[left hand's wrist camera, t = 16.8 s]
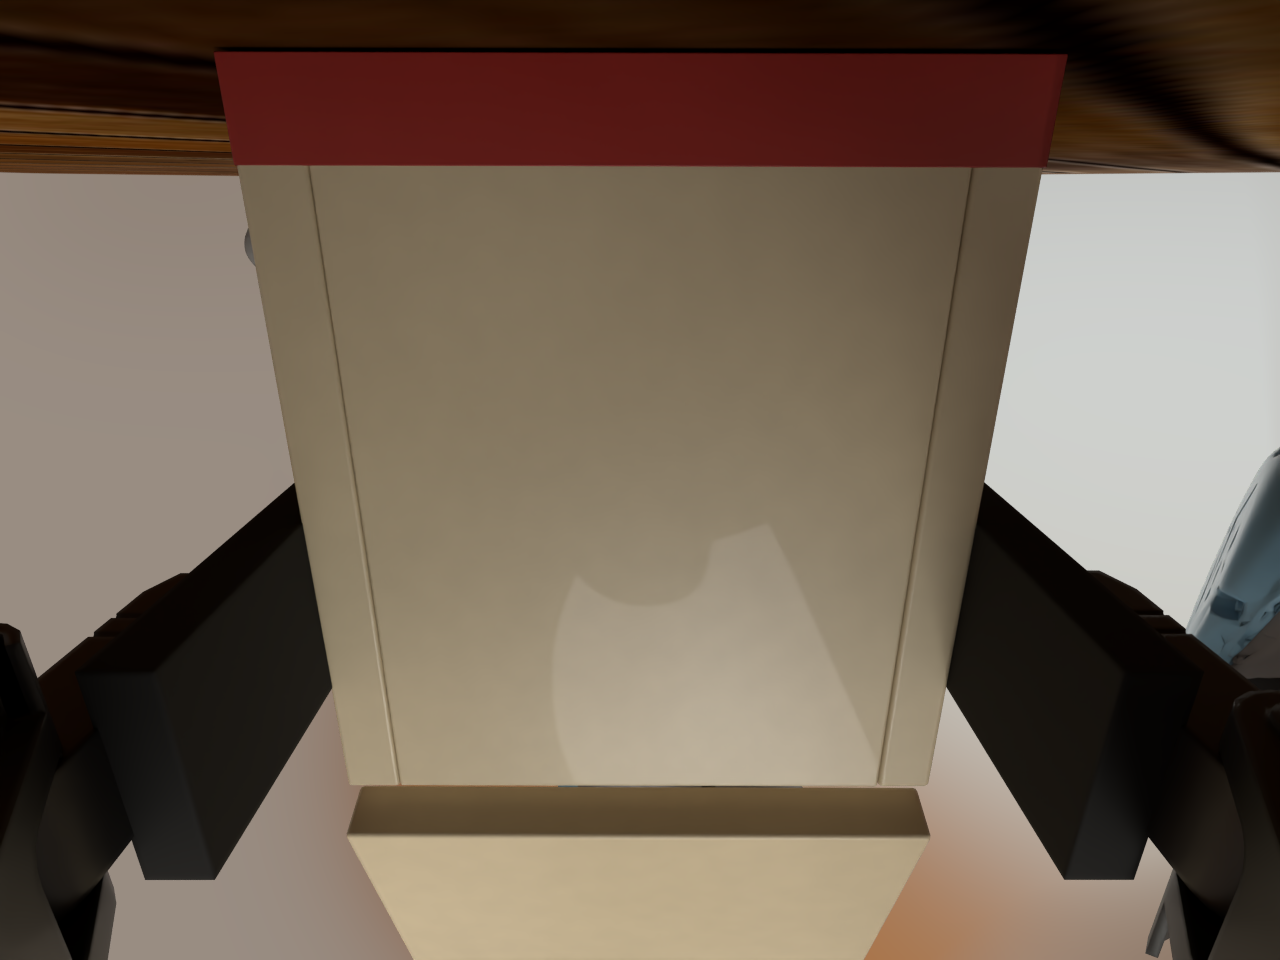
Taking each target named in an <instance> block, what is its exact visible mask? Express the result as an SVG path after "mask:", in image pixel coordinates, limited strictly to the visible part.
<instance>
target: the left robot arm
mask: <svg viewBox="0 0 1280 960" xmlns="http://www.w3.org/2000/svg"><path fill="white" fill-rule="evenodd" d="M116 615H117V616H116V618H111V619H109V620H108V621H107V622H106V623H105V624H103V625H102V626H101V627H100V628H98V629H97V630H96V631H95V632H94V636H93V637H87V638H86V639H85V640H84V641H82V642H81V643H80V644H79V645H78V646H76V647H75V648H74V649H73V650H71V651H70V652H69V653H68V654H67V655H65V656H64V657H63V658H62V659H60V660H59V661H58V662H57V663H56V664H54V665H53V666H52V667H51V668H49V669H48V670H47V671H46V672H45V673H43V674H42V675H41V676H40V677H38V678H37V676H36V673H35V670H34V668H33V665H32V662H31V659H30V657H29V654H28V651H27V648H26V646H25V643H24V640H23V637H22V635H21V632H20V630H18V629H16V628H14V627H12V626H10V625H9V624H3V623H0V960H108V953H109V947H110V940H111V934H112V927H113V921H114V914H115V908H116V899H115V893H114V887H113V884H112V882H111V879H110V876H109V873H108V869H109V868H110V867H111V866H112V864H113V863H114V862H115V861H116V859H117V858H118V857H119V855H120V854H121V853H122V852H123V850H124V849H125V848H126V846H127V845H128V844H129V842H130V841H131V840H132V842H133V845H134V848H135V851H136V854H137V857H138V860H139V863H140V866H141V869H142V872H143V875H144V878H145V880H215V878H216V877H217V875H218V874H219V872H220V870H221V869H222V867H223V865H224V864H225V862H226V860H227V859H228V857H229V856H230V854H231V852H232V851H233V849H234V847H235V846H236V844H237V843H238V841H239V839H240V838H241V836H242V834H243V833H244V831H245V829H246V828H247V826H248V825H249V823H250V821H251V820H252V818H253V816H254V815H255V813H256V811H257V810H258V808H259V807H260V805H261V803H262V802H263V800H264V798H265V797H266V795H267V794H268V792H269V790H270V789H271V787H272V785H273V784H274V782H275V780H276V779H277V777H278V776H279V774H280V772H281V771H282V769H283V767H284V766H285V764H286V762H287V761H288V759H289V758H290V756H291V754H292V753H293V751H294V749H295V748H296V746H297V744H298V743H299V741H300V740H301V738H302V736H303V735H304V733H305V731H306V730H307V728H308V727H309V725H310V723H311V722H312V720H313V718H314V717H315V715H316V713H317V712H318V710H319V709H320V707H321V705H322V704H323V702H324V700H325V699H326V697H327V695H328V694H329V692H330V691H331V689H332V682H331V676H330V671H329V666H328V660H327V655H326V649H325V644H324V638H323V633H322V627H321V622H320V616H319V611H318V605H317V600H316V594H315V589H314V584H313V578H312V573H311V567H310V562H309V556H308V551H307V545H306V540H305V534H304V529H303V523H302V520H301V515H300V509H299V504H298V498H297V493H296V487H295V483H294V484H292V485H291V486H290V487H289V488H288V489H287V490H285V491H284V492H283V493H282V494H281V495H280V496H278V497H277V498H276V499H275V500H274V501H273V502H271V503H270V504H269V505H268V506H267V507H266V508H264V509H263V510H262V511H261V512H260V513H259V514H257V515H256V516H255V517H254V518H253V519H252V520H251V521H249V522H248V523H247V524H246V525H245V526H244V527H242V528H241V529H240V530H239V531H238V532H237V533H235V534H234V535H233V536H232V537H231V538H230V539H228V540H227V541H226V542H225V543H224V544H223V545H221V546H220V547H219V548H218V549H217V550H216V551H214V552H213V553H212V554H211V555H210V556H209V557H208V558H206V559H205V560H204V561H203V562H202V563H200V564H199V565H198V566H197V567H196V568H195V569H193V570H192V571H191V572H190V573H180V574H178V575H176V576H174V577H172V578H170V579H168V580H166V581H164V582H162V583H160V584H158V585H156V586H154V587H152V588H150V589H148V590H146V591H144V592H142V593H141V594H140V595H139V596H138V597H136V598H135V599H134V600H133V601H131V602H130V603H129V604H128V605H127V606H125V607H124V608H123V609H122V610H120V611H119V612H118V613H117V614H116ZM946 687H947V689H948V690H949V692H950V694H951V695H952V697H953V698H954V700H955V702H956V703H957V705H958V707H959V708H960V710H961V712H962V713H963V715H964V716H965V718H966V720H967V721H968V723H969V725H970V726H971V728H972V730H973V731H974V733H975V734H976V736H977V738H978V739H979V741H980V743H981V744H982V746H983V748H984V749H985V751H986V752H987V754H988V756H989V757H990V759H991V761H992V762H993V764H994V765H995V767H996V769H997V770H998V772H999V774H1000V775H1001V777H1002V779H1003V780H1004V782H1005V783H1006V785H1007V787H1008V788H1009V790H1010V792H1011V793H1012V795H1013V797H1014V798H1015V800H1016V801H1017V803H1018V805H1019V806H1020V808H1021V810H1022V811H1023V813H1024V815H1025V816H1026V818H1027V819H1028V821H1029V823H1030V824H1031V826H1032V828H1033V829H1034V831H1035V832H1036V834H1037V836H1038V837H1039V839H1040V841H1041V842H1042V844H1043V846H1044V847H1045V849H1046V850H1047V852H1048V854H1049V855H1050V857H1051V859H1052V860H1053V862H1054V864H1055V865H1056V867H1057V868H1058V870H1059V872H1060V873H1061V875H1062V877H1063V878H1064V880H1134V877H1135V874H1136V871H1137V869H1138V866H1139V863H1140V860H1141V857H1142V854H1143V851H1144V848H1145V845H1146V842H1147V839H1148V837H1149V838H1150V840H1151V841H1152V842H1153V843H1154V845H1155V846H1156V847H1157V848H1158V850H1159V851H1160V852H1161V854H1162V855H1163V856H1164V857H1165V859H1166V860H1167V861H1168V863H1169V864H1170V865H1171V866H1172V868H1173V871H1172V873H1171V876H1170V879H1169V882H1168V884H1167V887H1166V890H1165V893H1164V895H1163V898H1162V901H1161V903H1160V906H1159V909H1158V912H1157V915H1156V917H1155V920H1154V923H1153V925H1152V928H1151V931H1150V934H1149V937H1148V942H1147V947H1146V954H1149V955H1151V956H1154V957H1157V958H1158V956H1159V953H1160V951H1161V948H1162V945H1163V943H1164V941H1165V940H1167V939H1169V938H1170V944H1171V951H1172V957H1173V960H1280V448H1278V449H1277V450H1275V451H1274V452H1273V453H1272V454H1271V455H1270V456H1269V457H1268V458H1267V459H1266V460H1265V462H1264V463H1263V465H1262V466H1261V468H1260V469H1259V470H1258V472H1257V474H1256V476H1255V477H1254V479H1253V481H1252V483H1251V485H1250V487H1249V488H1248V490H1247V492H1246V494H1245V496H1244V498H1243V500H1242V502H1241V504H1240V506H1239V508H1238V510H1237V512H1236V514H1235V516H1234V518H1233V521H1232V523H1231V525H1230V527H1229V529H1228V531H1227V533H1226V535H1225V537H1224V540H1223V542H1222V544H1221V546H1220V549H1219V551H1218V553H1217V555H1216V558H1215V560H1214V562H1213V564H1212V567H1211V569H1210V571H1209V573H1208V576H1207V578H1206V580H1205V583H1204V585H1203V587H1202V590H1201V592H1200V595H1199V597H1198V600H1197V602H1196V605H1195V607H1194V610H1193V612H1192V615H1191V617H1190V620H1189V623H1188V625H1187V628H1186V629H1185V628H1184V627H1183V626H1181V625H1180V624H1179V623H1178V622H1176V621H1175V620H1174V619H1173V618H1172V617H1170V616H1169V615H1164V614H1163V610H1162V609H1160V608H1159V607H1158V606H1157V605H1156V604H1154V603H1153V602H1152V601H1151V600H1149V599H1148V598H1147V597H1146V596H1144V595H1143V594H1142V593H1141V592H1139V591H1138V590H1137V589H1135V588H1133V587H1131V586H1129V585H1127V584H1125V583H1123V582H1121V581H1119V580H1117V579H1115V578H1113V577H1111V576H1109V575H1107V574H1105V573H1103V572H1101V571H1087V570H1086V569H1084V568H1083V567H1082V566H1081V565H1080V564H1079V563H1077V562H1076V561H1075V560H1074V559H1073V558H1072V557H1070V556H1069V555H1068V554H1067V553H1066V552H1065V551H1063V550H1062V549H1061V548H1060V547H1059V546H1058V545H1057V544H1055V543H1054V542H1053V541H1052V540H1051V539H1050V538H1048V537H1047V536H1046V535H1045V534H1044V533H1043V532H1041V531H1040V530H1039V529H1038V528H1037V527H1036V526H1034V525H1033V524H1032V523H1031V522H1030V521H1029V520H1027V519H1026V518H1025V517H1024V516H1023V515H1022V514H1020V513H1019V512H1018V511H1017V510H1016V509H1015V508H1013V507H1012V506H1011V505H1010V504H1009V503H1008V502H1006V501H1005V500H1004V499H1003V498H1002V497H1001V496H1000V495H998V494H997V493H996V492H995V491H994V490H993V489H991V488H990V487H989V486H988V485H987V484H986V483H984V485H983V491H982V496H981V502H980V507H979V512H978V518H977V523H976V528H975V534H974V539H973V545H972V550H971V555H970V561H969V566H968V571H967V577H966V582H965V588H964V593H963V598H962V604H961V609H960V614H959V620H958V625H957V631H956V636H955V641H954V647H953V652H952V657H951V663H950V668H949V674H948V679H947V684H946Z"/></svg>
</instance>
